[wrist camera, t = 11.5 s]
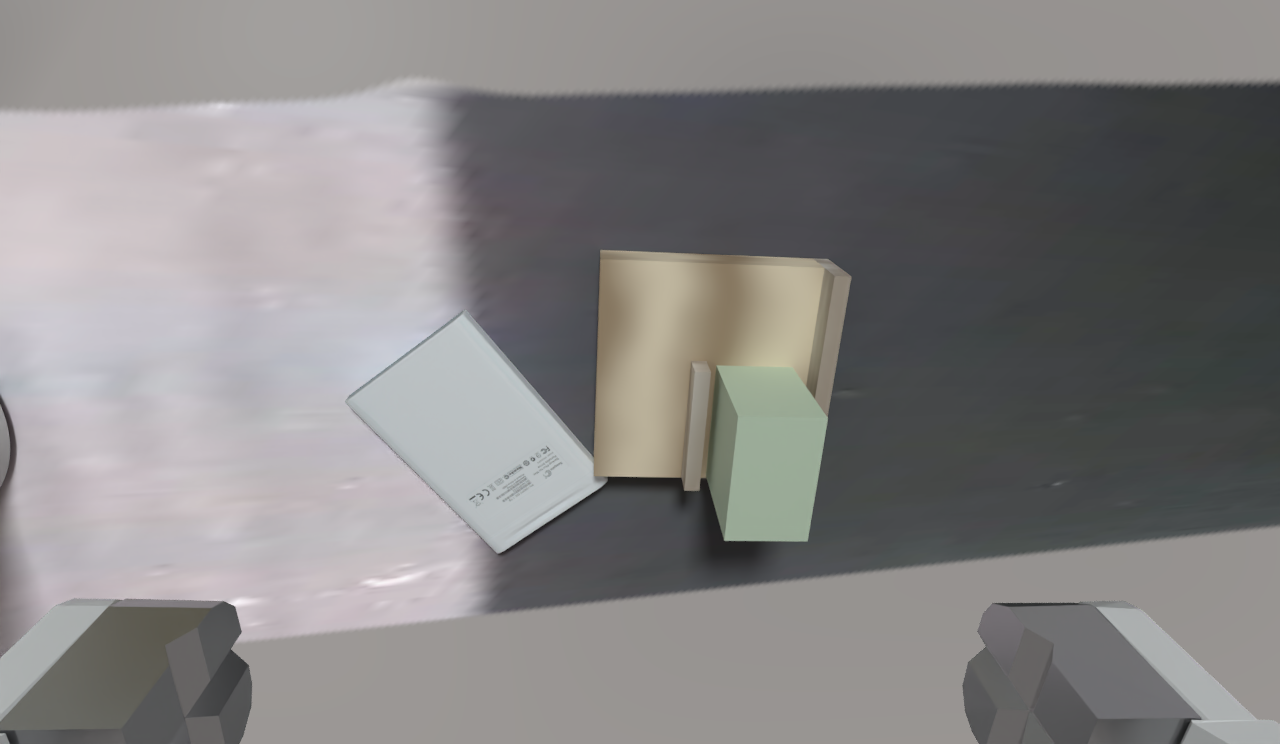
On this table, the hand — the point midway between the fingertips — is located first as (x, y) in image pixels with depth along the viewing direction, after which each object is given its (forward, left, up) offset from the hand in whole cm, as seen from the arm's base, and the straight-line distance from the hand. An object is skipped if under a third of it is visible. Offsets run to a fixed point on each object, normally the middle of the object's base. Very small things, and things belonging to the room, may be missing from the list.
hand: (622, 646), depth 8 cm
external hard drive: (-6, -13, -30) cm, 33 cm away
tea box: (+8, -10, -27) cm, 30 cm away
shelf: (+5, -8, -29) cm, 31 cm away
